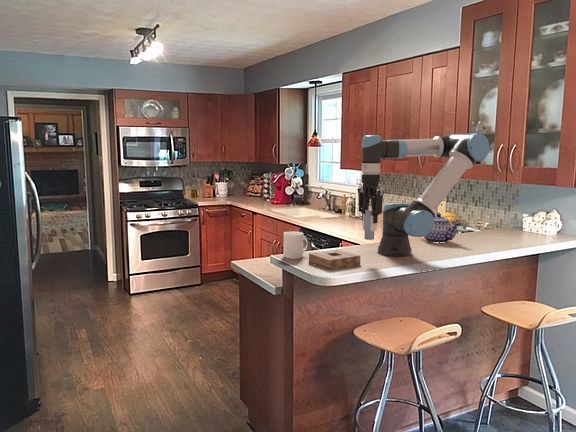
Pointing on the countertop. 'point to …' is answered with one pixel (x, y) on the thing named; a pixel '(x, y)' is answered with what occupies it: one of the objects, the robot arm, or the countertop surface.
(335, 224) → the countertop surface
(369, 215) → the dowel
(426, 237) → the teapot
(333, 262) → the board
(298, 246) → the mug
